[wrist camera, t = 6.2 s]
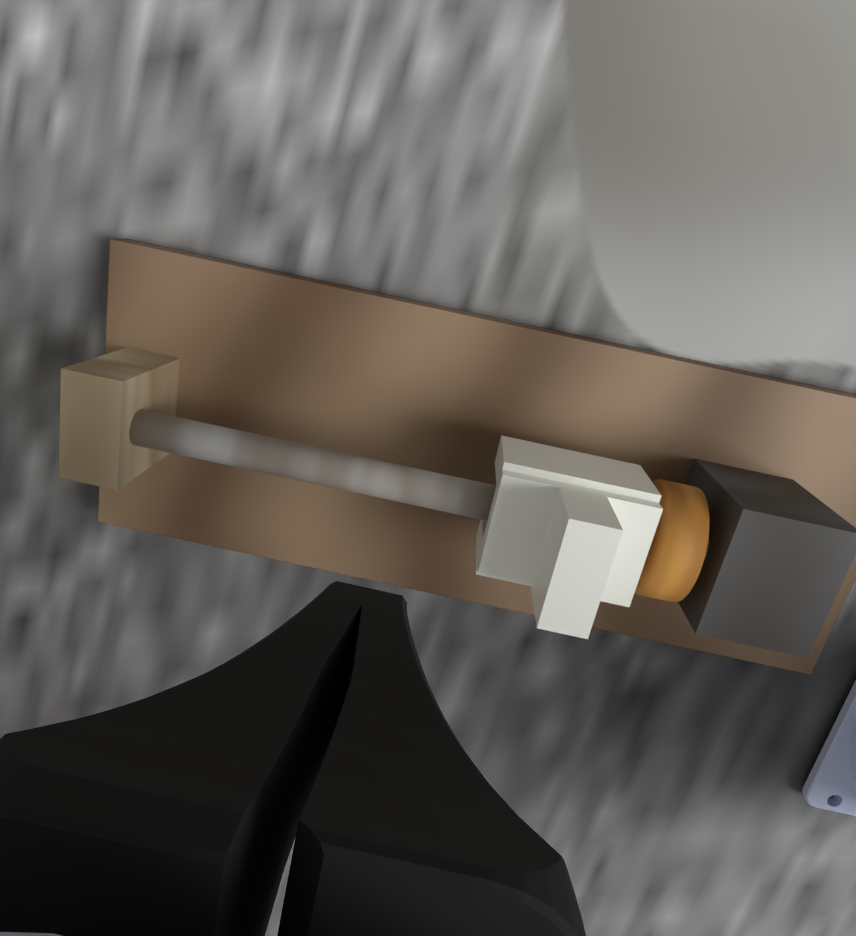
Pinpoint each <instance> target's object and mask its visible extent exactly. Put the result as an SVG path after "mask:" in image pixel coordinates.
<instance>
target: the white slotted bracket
mask: <svg viewBox="0 0 856 936" xmlns="http://www.w3.org/2000/svg"><path fill="white" fill-rule="evenodd" d="M495 473H496V489H495V493H494V497H493V501H492V505H491V509H490V513H489V517H488V521H485V520H481V519H480V523H479V527H478V531H477V536H476V574H477V575H481V576H486V577H490V578H495V579H500V580H504V581H509V582H514V583H518V584H523V585H528V586H531V592H532V599H533V606H534V613H535V620H536V627H537V628H538V629H542V630H547V631H552V632H556V633H561V634H566V635H570V636H575V637H580V638H584V639H588V637H589V634H590V631H591V628H592V625H593V622H594V619H595V616H596V613H597V610H598V607H599V604H600V601H602V602H607V603H611V604H616V605H621V606H625V607H630V604H631V602H632V599H633V596H634V593H635V590H636V587H637V584H638V581H639V578H640V575H641V572H642V569H643V567H644V564H645V561H646V558H647V555H648V552H649V549H650V546H651V543H652V540H653V537H654V534H655V532H656V529H657V526H658V523H659V520H660V517H661V514H662V511H663V508H662V506H661V505H660V503H659V502H660V499H661V496H662V495H661V494H660V493H659V491H658V490H657V488H656V487H655V485H654V484H653V483H652V481H651V480H650V478H649V477H648V476H647V474H646V473H645V471H644V470H643V468H642V467H641V466H640V465H637V464H633V463H628V462H623V461H619V460H614V459H609V458H605V457H600V456H595V455H591V454H586V453H581V452H577V451H572V450H567V449H563V448H558V447H553V446H549V445H544V444H539V443H535V442H530V441H525V440H521V439H516V438H511V437H507V436H502V435H501V438H500V442H499V447H498V451H497V455H496V459H495Z"/></svg>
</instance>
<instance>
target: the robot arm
mask: <svg viewBox="0 0 856 936" xmlns="http://www.w3.org/2000/svg"><path fill="white" fill-rule="evenodd" d="M802 793H803V796H804V798H805V800H806V801H807V803H808V804H809V805H810V806H813V807H816V808H820V809H825V810H830V811H834V812H839V813H843V814H848V815H853V816H856V680H855V682H854V684H853V687H852V689H851V691H850V693H849V695H848V697H847V699H846V701H845V703H844V705H843V707H842V709H841V711H840V713H839V715H838V717H837V719H836V721H835V723H834V725H833V727H832V729H831V731H830V733H829V736H828V738H827V740H826V742H825V744H824V746H823V748H822V750H821V752H820V754H819V756H818V758H817V760H816V762H815V764H814V766H813V768H812V770H811V772H810V774H809V776H808V778H807V780H806V782H805V784H804V787H803V790H802ZM832 795H835V796H834V797H832V798H829V797H830V796H832ZM295 837H296V838H295ZM294 839H295V844H294V849H293V855H292V860H291V865H290V871H289V876H288V882H287V887H286V893H285V898H284V903H283V909H282V914H281V920H280V925H279V930H278V936H586V935H585V930H584V925H583V921H582V918H581V914H580V910H579V907H578V903H577V900H576V896H575V893H574V890H573V886H572V883H571V880H570V877H569V874H568V871H567V867H566V864H565V861H564V859H563V858H562V856H561V855H560V854H559V853H558V852H556V851H555V850H554V849H553V848H552V847H551V846H550V845H549V844H548V843H547V842H546V841H545V840H544V839H542V838H541V837H540V836H539V835H538V834H537V833H536V832H535V831H534V830H533V829H532V828H531V827H529V826H528V825H527V824H526V823H525V822H524V821H523V820H522V819H521V818H520V817H519V816H518V815H517V814H516V813H515V812H514V811H513V810H512V809H511V808H510V807H509V806H508V804H507V803H506V802H505V801H504V800H503V799H502V798H501V797H500V796H499V794H498V793H497V792H496V791H495V790H494V789H493V788H492V787H491V785H490V784H489V783H488V782H487V781H486V779H485V778H484V777H483V775H482V774H481V773H480V771H479V770H478V769H477V767H476V766H475V765H474V763H473V762H472V761H471V759H470V758H469V757H468V755H467V754H466V752H465V751H464V749H463V748H462V746H461V745H460V743H459V742H458V740H457V738H456V737H455V735H454V734H453V732H452V730H451V728H450V726H449V725H448V723H447V721H446V719H445V718H444V716H443V714H442V712H441V710H440V708H439V706H438V704H437V702H436V700H435V698H434V695H433V693H432V691H431V689H430V686H429V684H428V682H427V679H426V677H425V674H424V672H423V669H422V666H421V664H420V661H419V658H418V655H417V652H416V649H415V646H414V642H413V639H412V635H411V631H410V626H409V622H408V616H407V602H406V601H405V599H404V598H403V596H402V595H397V594H392V593H388V592H383V591H379V590H374V589H370V588H365V587H361V586H356V585H352V584H347V583H342V582H338V581H336V582H334V583H332V584H330V585H329V586H328V587H327V588H326V589H325V590H324V591H323V592H322V593H321V594H319V595H318V596H317V597H316V598H315V599H314V600H313V601H312V602H310V603H309V604H308V605H307V606H306V607H305V608H303V609H302V610H301V611H300V612H299V613H297V614H296V615H295V616H293V617H292V618H291V619H290V620H288V621H287V622H286V623H284V624H283V625H282V626H281V627H279V628H278V629H277V630H275V631H274V632H272V633H271V634H270V635H268V636H267V637H265V638H264V639H262V640H261V641H259V642H258V643H256V644H255V645H253V646H252V647H250V648H249V649H247V650H246V651H244V652H243V653H241V654H239V655H238V656H236V657H234V658H233V659H231V660H229V661H227V662H226V663H224V664H222V665H220V666H219V667H217V668H215V669H213V670H211V671H209V672H207V673H205V674H203V675H201V676H199V677H197V678H194V679H192V680H189V681H187V682H185V683H182V684H180V685H177V686H175V687H172V688H170V689H168V690H165V691H163V692H160V693H158V694H156V695H153V696H150V697H148V698H145V699H142V700H139V701H136V702H133V703H130V704H127V705H124V706H121V707H118V708H114V709H111V710H107V711H104V712H101V713H97V714H94V715H90V716H86V717H83V718H79V719H75V720H70V721H66V722H61V723H56V724H52V725H47V726H43V727H38V728H34V729H29V730H24V731H19V732H14V733H8V734H5V735H4V736H3V737H2V738H1V739H0V936H265V933H266V929H267V926H268V922H269V919H270V916H271V912H272V909H273V905H274V902H275V898H276V895H277V892H278V888H279V885H280V881H281V878H282V874H283V871H284V868H285V865H286V862H287V859H288V856H289V853H290V850H291V848H292V845H293V842H294Z"/></svg>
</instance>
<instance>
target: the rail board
mask: <svg viewBox="0 0 856 936" xmlns="http://www.w3.org/2000/svg"><path fill="white" fill-rule="evenodd" d="M501 435H502V436H507V437H511V438H516V439H521V440H525V441H530V442H535V443H539V444H544V445H549V446H553V447H558V448H563V449H567V450H572V451H577V452H581V453H586V454H591V455H595V456H600V457H605V458H609V459H614V460H619V461H623V462H628V463H633V464H637V465H640V466H641V467H642V468H643V470H644V471H645V473H646V474H647V476H648V477H649V478H650V480H651V481H652V483H653V484H654V485H655V487H656V488H657V490H658V491H659V493H660V494H661V495H662V496H661V499H660V502H659V503H660V505H661V506H662V508H663V511H662V514H661V517H660V520H659V523H658V526H657V529H656V532H655V534H654V537H653V540H652V543H651V546H650V549H649V552H648V555H647V558H646V561H645V564H644V567H643V569H642V572H641V575H640V578H639V581H638V584H637V587H636V590H635V593H634V596H633V599H632V602H631V604H630V607H625V606H621V605H616V604H611V603H607V602H602V601H600V604H599V607H598V610H597V613H596V616H595V619H594V622H593V625H592V628H596V629H601V630H605V631H610V632H614V633H619V634H624V635H628V636H633V637H638V638H642V639H647V640H652V641H656V642H661V643H666V644H670V645H675V646H680V647H684V648H689V649H694V650H698V651H703V652H707V653H712V654H717V655H721V656H726V657H731V658H735V659H740V660H745V661H749V662H754V663H759V664H763V665H768V666H773V667H777V668H782V669H787V670H791V671H796V672H800V673H805V674H810V675H811V674H812V672H813V670H814V667H815V665H816V663H817V661H818V659H819V657H820V654H821V652H822V650H823V648H824V646H825V644H826V641H827V639H828V637H829V635H830V633H831V631H832V628H833V626H834V624H835V622H836V620H837V618H838V615H839V613H840V611H841V609H842V607H843V605H844V602H845V600H846V598H847V596H848V594H849V592H850V589H851V587H852V585H853V583H854V581H855V579H856V395H854V394H850V393H845V392H840V391H836V390H831V389H826V388H822V387H817V386H812V385H808V384H803V383H798V382H794V381H789V380H784V379H780V378H775V377H770V376H766V375H761V374H756V373H752V372H747V371H742V370H737V369H733V368H728V367H723V366H719V365H714V364H709V363H705V362H700V361H695V360H691V359H686V358H681V357H677V356H672V355H667V354H663V353H658V352H653V351H649V350H644V349H639V348H635V347H630V346H625V345H620V344H616V343H611V342H606V341H602V340H597V339H592V338H588V337H583V336H578V335H574V334H569V333H564V332H560V331H555V330H550V329H546V328H541V327H536V326H532V325H527V324H522V323H518V322H513V321H508V320H503V319H499V318H494V317H489V316H485V315H480V314H475V313H471V312H466V311H461V310H457V309H452V308H447V307H443V306H438V305H433V304H429V303H424V302H419V301H415V300H410V299H405V298H401V297H396V296H391V295H386V294H382V293H377V292H372V291H368V290H363V289H358V288H354V287H349V286H344V285H340V284H335V283H330V282H326V281H321V280H316V279H312V278H307V277H302V276H298V275H293V274H288V273H284V272H279V271H274V270H269V269H265V268H260V267H255V266H251V265H246V264H241V263H237V262H232V261H227V260H223V259H218V258H213V257H209V256H204V255H199V254H195V253H190V252H185V251H181V250H176V249H171V248H167V247H162V246H157V245H152V244H148V243H143V242H138V241H134V240H129V239H110V253H109V276H108V299H107V323H106V346H105V355H102V356H99V357H95V358H92V359H89V360H86V361H83V362H79V363H76V364H73V365H70V366H67V367H64V368H61V387H60V434H59V478H63V479H67V480H72V481H77V482H81V483H86V484H91V485H95V486H99V510H98V522H103V523H108V524H112V525H117V526H122V527H126V528H131V529H136V530H140V531H145V532H150V533H154V534H159V535H163V536H168V537H173V538H177V539H182V540H187V541H191V542H196V543H201V544H205V545H210V546H215V547H219V548H224V549H229V550H233V551H238V552H243V553H247V554H252V555H256V556H261V557H266V558H270V559H275V560H280V561H284V562H289V563H294V564H298V565H303V566H308V567H312V568H317V569H322V570H326V571H331V572H335V573H340V574H345V575H349V576H354V577H359V578H363V579H368V580H373V581H377V582H382V583H387V584H391V585H396V586H401V587H405V588H410V589H415V590H419V591H424V592H428V593H433V594H438V595H442V596H447V597H452V598H456V599H461V600H466V601H470V602H475V603H480V604H484V605H489V606H494V607H498V608H503V609H508V610H512V611H517V612H521V613H526V614H531V615H535V613H534V606H533V599H532V592H531V586H528V585H523V584H518V583H514V582H509V581H504V580H500V579H495V578H490V577H486V576H481V575H477V574H476V536H477V531H478V527H479V523H480V519H481V520H485V521H488V517H489V513H490V509H491V505H492V501H493V497H494V493H495V489H496V473H495V459H496V455H497V451H498V447H499V442H500V438H501Z"/></svg>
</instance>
